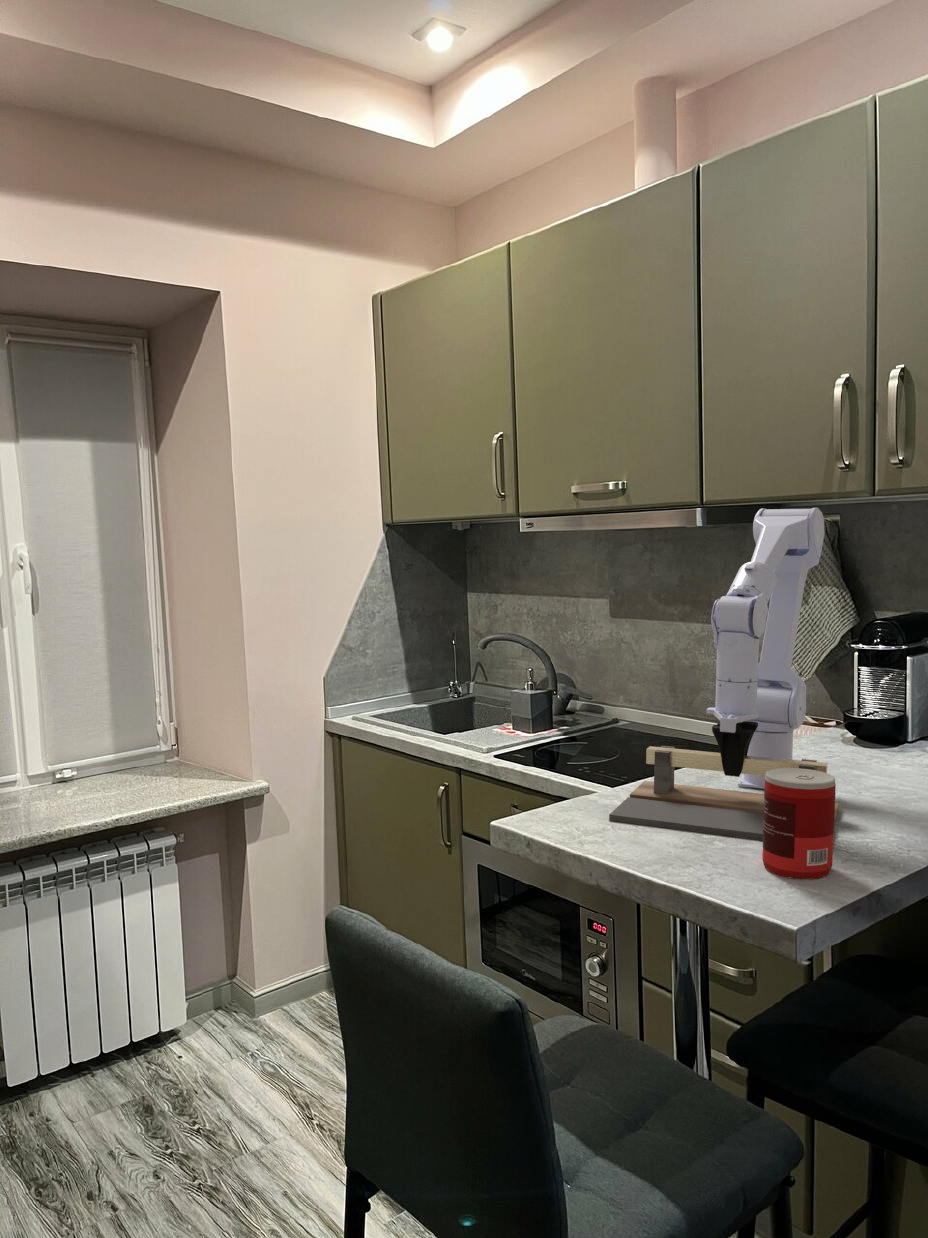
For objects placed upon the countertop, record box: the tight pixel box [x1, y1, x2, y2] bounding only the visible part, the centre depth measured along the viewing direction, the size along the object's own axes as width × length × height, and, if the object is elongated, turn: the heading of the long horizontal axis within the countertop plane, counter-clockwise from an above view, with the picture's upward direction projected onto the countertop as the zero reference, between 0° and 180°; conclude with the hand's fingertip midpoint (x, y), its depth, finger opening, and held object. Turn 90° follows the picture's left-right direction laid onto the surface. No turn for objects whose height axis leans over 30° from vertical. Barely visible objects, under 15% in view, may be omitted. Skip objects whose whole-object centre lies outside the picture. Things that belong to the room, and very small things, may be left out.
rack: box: [629, 745, 840, 827], centre depth 138 cm, size 9×28×7 cm, turn 66°
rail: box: [645, 745, 829, 776], centre depth 138 cm, size 2×25×2 cm, turn 66°
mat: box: [608, 796, 764, 841], centre depth 129 cm, size 10×28×1 cm, turn 66°
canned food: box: [761, 768, 837, 880], centre depth 110 cm, size 8×8×11 cm
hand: (733, 773), depth 138 cm, fingers closed on rail, 2 cm apart
